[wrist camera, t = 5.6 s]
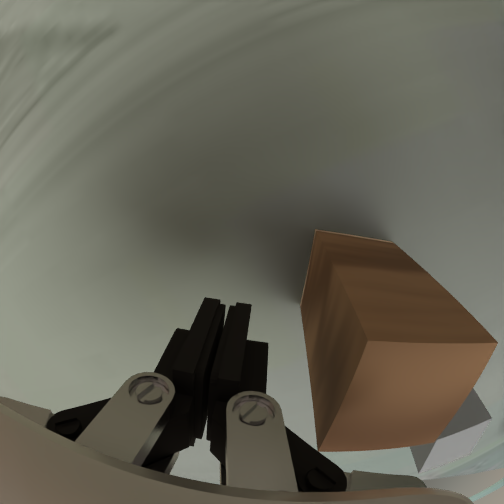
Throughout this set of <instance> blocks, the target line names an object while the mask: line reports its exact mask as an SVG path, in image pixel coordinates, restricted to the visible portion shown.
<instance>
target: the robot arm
mask: <svg viewBox="0 0 504 504" xmlns="http://www.w3.org/2000/svg"><path fill="white" fill-rule="evenodd" d="M251 306H252V305H251V304H244V303H238V302H237V303H236V306H231V305H230V307H229V311H228V314H227V318H226V321H225V325H224V317H225V304H220V300H218V299H212V298H206V297H205V298H204V300H203V302H202V304H201V307H200V309H199V311H198V313H197V315H196V318H195V320H194V322H193V324H192V326H191V329H190V330H185V329H180V328H177V329H176V330H175V332H174V334H173V336H172V338H171V340H170V342H169V344H168V346H167V347H166V349H165V351H164V353H163V355H162V357H161V359H160V361H159V363H158V365H157V367H156V369H155V371H154V372H143V373H138V374H135V375H133V376H131V377H130V378H129V379H128V380H126V381H125V383H124V384H123V385H122V386H121V387H120V389H119V390H118V391H117V392H116V393H115V394H114V396H113V397H112V398H108V399H105V400H101V401H98V402H94V403H90V404H87V405H83V406H79V407H75V408H71V409H67V410H63V411H60V412H58V413H56V414H52V412H51V410H49V409H45V408H41V407H37V406H33V405H30V404H26V403H23V402H19V401H16V400H13V399H9V398H6V397H0V504H474V503H473V502H472V501H471V500H470V499H469V498H467V497H465V496H464V495H462V494H459V493H456V492H452V491H448V490H442V489H435V488H427V487H426V485H425V484H424V482H423V481H422V480H420V479H419V478H417V477H414V476H408V475H392V474H381V473H372V472H363V471H356V470H353V471H352V472H351V473H348V472H343V470H341V469H340V468H339V467H338V466H337V465H336V464H334V463H333V462H332V461H330V460H329V459H327V458H326V457H325V456H323V455H322V454H321V453H319V452H318V451H317V450H315V449H314V448H313V447H311V446H310V445H309V444H307V443H306V442H305V441H304V440H302V439H301V438H300V437H298V436H297V435H296V434H295V433H293V432H292V431H291V430H290V429H288V428H287V427H286V426H285V425H284V420H283V415H282V410H281V408H280V405H279V404H278V402H277V401H276V400H275V399H274V398H272V397H271V396H269V395H267V394H266V383H267V363H268V343H265V342H258V341H251V340H247V333H248V326H249V319H250V313H251ZM223 327H224V328H223ZM207 416H208V418H207ZM206 420H207V440H209V441H211V443H210V451H211V453H212V454H213V455H214V456H215V457H216V458H217V459H218V460H219V461H220V485H218V484H212V483H206V482H201V481H196V480H191V479H186V478H182V477H178V476H173V475H169V474H170V472H171V470H172V468H173V466H174V464H175V462H176V460H177V458H178V456H179V451H181V450H183V449H185V448H188V447H189V446H194V443H195V439H196V438H198V439H202V436H203V432H204V428H205V424H206Z"/></svg>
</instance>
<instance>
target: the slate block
mask: <svg viewBox="0 0 504 504" xmlns="http://www.w3.org/2000/svg"><path fill="white" fill-rule="evenodd" d="M491 419H492V417H491V416H490V414H489V412H488V411H487V409H486V408H485V406H484V404H483V403H482V401H481V400H480V398H479V396H478V395H477V393H476V392H475V390H474V389H473V388H472V390H471V391H470V393H469V395H468V396H467V398H466V399H465V401H464V402H463V404H462V405H461V407H460V408H459V410H458V411H457V413H456V414H455V415H454V417H453V418H452V420H451V421H450V422H449V424H448V425H447V426H446V428H445V429H444V430H443V432H442V433H441V434H440V435H439V437H438V438H437V439H436V441H435V442H434V443H429V444H423V445H416V446H410V449H411V452H412V455H413V458H414V461H415V464H416V467H417V470H418V473H422V472H425V471H428V470H431V469H434V468H437V467H439V466H442V465H445V464H448V463H450V462H453V461H455V460H458V459H460V458H463V457H465V456H467V455H470V453H471V452H472V450H473V449H474V447H475V446H476V444H477V443H478V441H479V439H480V438H481V436H482V435H483V433H484V431H485V429H486V428H487V426H488V424H489V423H490V421H491Z"/></svg>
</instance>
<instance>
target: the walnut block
mask: <svg viewBox="0 0 504 504" xmlns="http://www.w3.org/2000/svg"><path fill="white" fill-rule="evenodd" d="M300 308H301V315H302V322H303V329H304V336H305V344H306V351H307V359H308V367H309V375H310V383H311V392H312V400H313V409H314V418H315V428H316V438H317V448H318V451H320V452H337V451H365V450H380V449H391V448H400V447H409V446H416V445H423V444H429V443H434V442H435V441H436V439H437V438H438V437H439V435H440V434H441V433H442V432H443V430H444V429H445V428H446V426H447V425H448V424H449V422H450V421H451V420H452V418H453V417H454V415H455V414H456V413H457V411H458V410H459V408H460V407H461V405H462V404H463V402H464V401H465V399H466V398H467V396H468V395H469V393H470V391H471V390H472V388H473V387H474V385H475V383H476V382H477V380H478V378H479V377H480V375H481V373H482V372H483V370H484V368H485V366H486V364H487V363H488V361H489V359H490V357H491V355H492V353H493V351H494V350H495V348H496V346H497V344H498V342H497V341H496V340H495V339H494V338H493V337H492V336H491V335H490V334H489V333H488V331H487V330H486V329H485V328H484V327H483V326H482V325H481V324H480V323H479V322H478V321H477V320H476V319H475V318H474V317H473V316H472V315H471V314H470V313H469V312H468V311H467V310H466V309H465V308H464V307H463V306H462V305H461V304H460V303H459V302H458V301H457V300H456V299H455V298H454V297H453V296H452V295H451V294H450V293H449V292H448V291H447V290H446V289H445V288H444V287H443V286H442V285H440V284H439V283H438V282H437V281H436V280H435V279H434V278H433V277H432V276H431V275H430V274H429V273H427V272H426V271H425V270H424V269H423V268H422V267H421V266H420V265H419V264H417V263H416V262H415V261H414V260H413V259H412V258H411V257H410V256H408V255H407V254H406V253H405V252H404V251H403V250H401V249H400V248H399V247H398V246H397V245H396V244H394V243H393V242H391V241H385V240H379V239H373V238H367V237H361V236H355V235H349V234H343V233H337V232H330V231H324V230H318V229H315V233H314V239H313V244H312V249H311V255H310V260H309V265H308V270H307V275H306V279H305V284H304V289H303V294H302V298H301V303H300Z"/></svg>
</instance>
